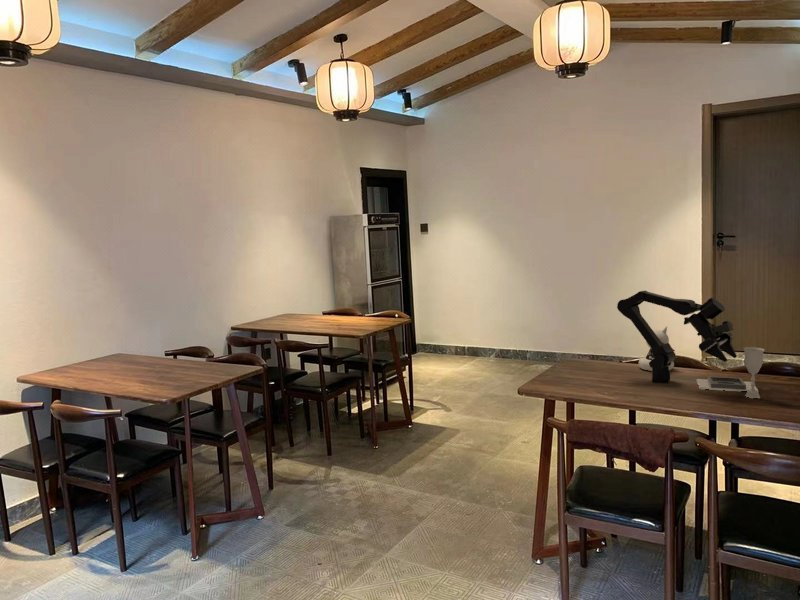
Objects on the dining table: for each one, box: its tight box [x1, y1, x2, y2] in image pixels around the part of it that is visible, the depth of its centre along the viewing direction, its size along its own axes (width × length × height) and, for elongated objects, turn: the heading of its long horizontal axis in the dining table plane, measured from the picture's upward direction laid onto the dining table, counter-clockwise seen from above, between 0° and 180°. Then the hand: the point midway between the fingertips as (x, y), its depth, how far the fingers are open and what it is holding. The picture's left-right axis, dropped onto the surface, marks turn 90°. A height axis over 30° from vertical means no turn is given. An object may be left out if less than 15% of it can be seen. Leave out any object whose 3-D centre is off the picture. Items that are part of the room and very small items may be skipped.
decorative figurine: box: [638, 326, 675, 372], centre depth 269 cm, size 15×15×20 cm
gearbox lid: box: [696, 375, 759, 392], centre depth 237 cm, size 20×14×2 cm
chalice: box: [742, 346, 765, 399], centre depth 221 cm, size 7×7×18 cm
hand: (731, 359), depth 227 cm, fingers open, 9 cm apart
